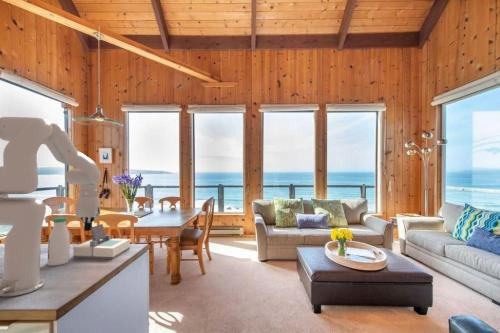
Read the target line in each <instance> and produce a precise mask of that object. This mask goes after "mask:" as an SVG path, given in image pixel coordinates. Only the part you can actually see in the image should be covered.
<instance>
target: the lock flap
mask: <svg viewBox="0 0 500 333" xmlns="http://www.w3.org/2000/svg"><path fill="white" fill-rule="evenodd" d="M90 231H91V236H92V238H93V239H94V241H97V244H99V243H101V242H103V241H105V240H107V239H108V238H107V237H106V235H107V234H106V232H105V228H104V224H102V223H101V224H98V225H95V226H92V228H91V230H90Z"/></svg>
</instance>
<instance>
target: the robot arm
mask: <svg viewBox="0 0 500 333" xmlns="http://www.w3.org/2000/svg"><path fill="white" fill-rule="evenodd" d="M0 140H1V141H2V140H3V141H5V142H7V144H6V145H5V147H4V149H3V153H2V154H3V155H2V157H3V158H2V159H3V160H2V161H3V165H2V166H1V165H0V226H12V227H11V228H10V230H9V231H8V233H7V234H6V236H5V238H4V245H3V246H4V249H3V250H4V252H3V253H4V255H3V272H2V273H3V275H2V276H3V277H2V280H0V297H4V298H7V297H16V296H21V295H22V296H23V295H26V294H29V293H32V292H34V291H37V290H39V289H41V288H42V287H43V286H45V285H46V284H45V283H46V282H45V281H46V280H45V279H44V278H42V277H40V275H41V274H40V273H41V253H42V252H41V249H42V247H41V246H42V231H43V230H42V228H43V225H44V224H43V223H44V220H45V219H44V218H45V215H46V212H47V211H46V210H47V207H46V204H45V202H44V201H42V200H41V199H38V198H36V197H35V198H34V197H22V196H21V197H17V196H15V197H13V196H12V197H10V196H9V195H27V194H28V195H29V194H31V193H34V192H35V191H37V189H38V186H39V176H38V175H39V174H38V173H39V172H38V162H37V161H38V158H37V154H38V151H39V148H40V147H41V146H42V145H45V146H46V147H47V149H48V150H49V151H50V154H52V156H53V157H54V159H55V160H56V161H57V162H58V163H61V164H64V165H67V166H70V167H73V168H72V169H71V168H70V169H69V170H68V171H66V173H65V175H64V179H65V181H66V182H67V183H68V184H69V185H75V186H76V185H80V190H79V191H78V192H77V193H78V195H79V196H78V198H77V200H76V206H75V216H76V217H77V219H79V220H81V221H82V223H84V224H83V230H84V232H90V231H91V228H92V227H93V222H94V221H95V220H98V219H100V215H101V202H100V201H101V200H100V196H99V193H98V192H99V183H100V181H101V179H102V174H101V171H100V169H99V167H98V164H96V162H95V161H94V160H92V158H90V157H88V156H87V155H85V154H84V153H82V152H80V151H79V150H78V149H77V148H76V147H75V145H74V143H73V141H72V139H71V138H70V136H69V134H68V132H67V131H66V129H65V128H64V126H62V125H61V124H58V123H51V122H50V121H49V120H48V119H45V118H41V117H31V116H30V117H28V116H24V117H23V116H21V117H20V116H2V117H0Z"/></svg>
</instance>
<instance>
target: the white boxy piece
mask: <svg viewBox="0 0 500 333" xmlns="http://www.w3.org/2000/svg"><path fill="white" fill-rule="evenodd" d="M105 235H106V237H107V238H108V239H107V240H105V241H103V242H101V243H99V244H97V241H94V239H93V237H92V238H91V239H90V240H87V241H84V242H82V243H80V244H78V245H75V246H73V256H72V258H74V259H97V260H98V259H99V260H114V259H116V258H117V257H119V256H120V255H122V254H124V253H126V252H127V251H129V250H130V248H131V239H130V238H128V239H127V238H111V237H112V236H111V234H105Z"/></svg>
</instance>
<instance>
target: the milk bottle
mask: <svg viewBox="0 0 500 333" xmlns="http://www.w3.org/2000/svg"><path fill="white" fill-rule="evenodd" d="M67 219H68V218H67V217H64V216H61V217H60V216H59V217H54V218H53V227H52V230H51V232H50V234H49V236H48V241H47V244H48V245H47V265H48V266H52V267H53V266H55V267H56V266H60V265H65V264H68V263H69V261H70V249H71V248H70V247H71V235H70V231H69V229H68V228H67V224H66V223H67Z"/></svg>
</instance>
